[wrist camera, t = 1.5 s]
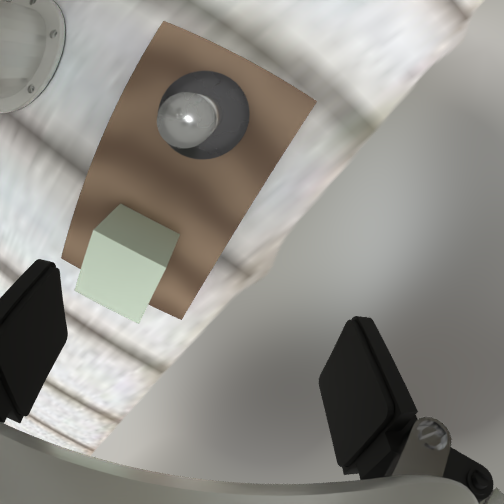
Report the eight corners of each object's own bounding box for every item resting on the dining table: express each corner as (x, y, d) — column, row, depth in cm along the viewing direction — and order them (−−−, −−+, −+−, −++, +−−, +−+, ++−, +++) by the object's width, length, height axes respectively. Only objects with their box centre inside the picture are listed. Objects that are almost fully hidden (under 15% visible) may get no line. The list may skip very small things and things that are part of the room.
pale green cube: (154, 284, 30) (138, 323, 25) (100, 256, 29) (74, 290, 23) (180, 234, 28) (166, 267, 22) (120, 203, 26) (93, 229, 21)
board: (183, 311, 33) (166, 386, 24) (67, 251, 30) (15, 309, 20) (312, 101, 25) (354, 101, 15) (167, 25, 21) (127, -14, 12)
